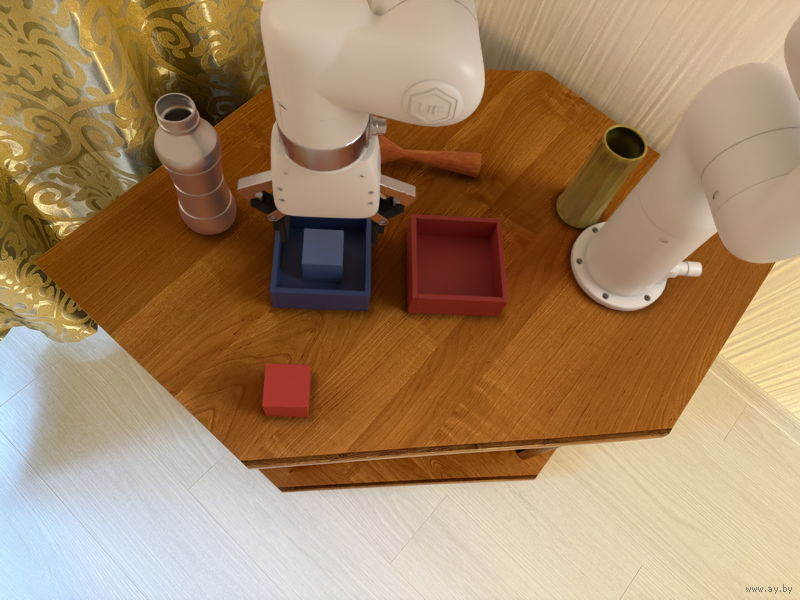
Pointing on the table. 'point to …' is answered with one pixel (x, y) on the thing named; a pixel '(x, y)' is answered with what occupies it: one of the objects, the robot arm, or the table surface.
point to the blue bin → (315, 294)
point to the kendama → (433, 158)
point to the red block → (286, 390)
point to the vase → (601, 176)
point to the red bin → (455, 265)
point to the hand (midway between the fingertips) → (330, 231)
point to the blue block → (322, 255)
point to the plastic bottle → (193, 165)
